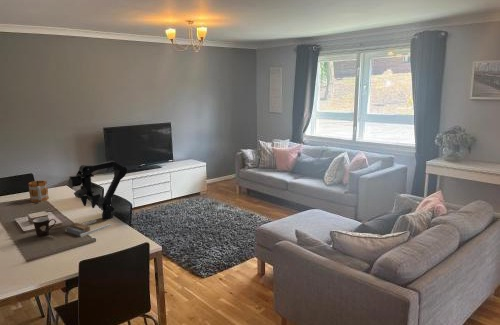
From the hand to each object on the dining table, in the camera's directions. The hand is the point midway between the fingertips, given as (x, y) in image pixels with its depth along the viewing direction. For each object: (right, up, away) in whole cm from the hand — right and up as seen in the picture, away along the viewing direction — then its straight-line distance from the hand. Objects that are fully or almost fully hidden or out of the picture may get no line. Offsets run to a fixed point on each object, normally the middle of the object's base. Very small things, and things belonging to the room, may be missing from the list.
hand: (89, 207), depth 245 cm
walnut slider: (+1, -14, -13) cm, 19 cm away
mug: (-66, -2, +59) cm, 89 cm away
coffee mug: (-21, -16, -15) cm, 30 cm away
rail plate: (+4, -14, -9) cm, 17 cm away
